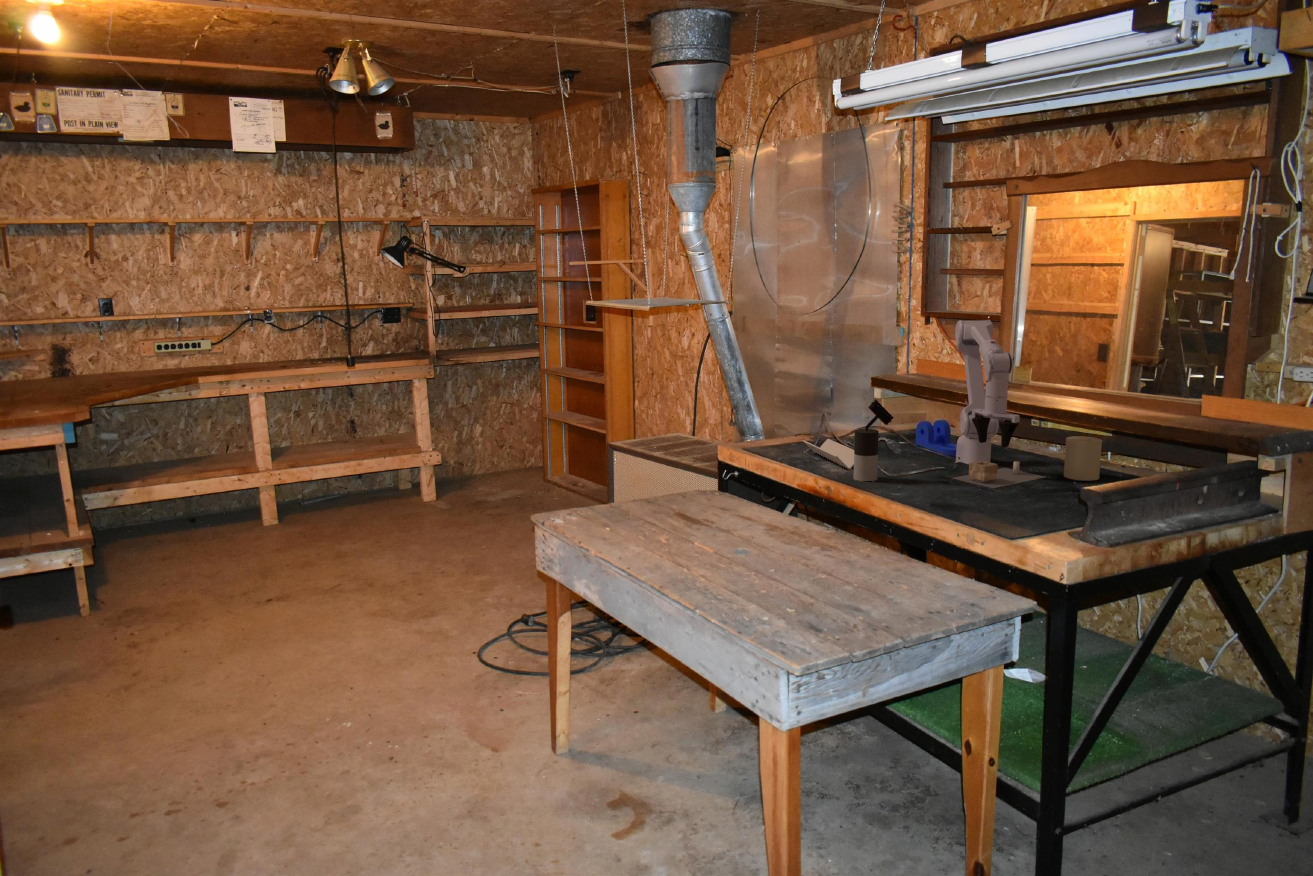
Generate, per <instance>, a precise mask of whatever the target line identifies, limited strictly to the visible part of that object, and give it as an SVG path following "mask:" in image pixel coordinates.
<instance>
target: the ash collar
mask: <svg viewBox="0 0 1313 876" xmlns="http://www.w3.org/2000/svg"><path fill="white" fill-rule="evenodd" d="M997 469H999V465H998V463H994V462H991V461H990V462H986V461H978V462H973V463H969V464H968V475H969V478H973V479H977V480H981V481H987V480H992V479H997Z"/></svg>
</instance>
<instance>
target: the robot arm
mask: <svg viewBox="0 0 1313 876" xmlns="http://www.w3.org/2000/svg"><path fill="white" fill-rule="evenodd" d="M993 335H994V325H993V322H992V321H991V320H990V319H987V320H986V319H984V320H963V319H962V320H961V319H960V320H958V321H957V322H956V324H955V330H954V336H955V344H956V350H957V351H958V352H960V353H962V357H963V362H964V371H965V379H966V387H967V388H966V390H967V395H968V396H967V399H968V405H966V406H964V408H962V410H961V412H960V416H959V417H960V420H959V428H960V432H961V435H960V436H959V437H958V439H957V441H956V442H957V443H956V444H957V449H956V456H955V462H953V463H963V464H966V465H969V463H973V462H978V461H986V462H990V463H991V453H992V438H994V436H995V435H997V433H998V432H999V428H1000V436H1001V438H1000V439H1001V440H1000V443H1001V448H1008V447H1009V445H1010V443H1011V439H1012V436H1013V434H1014V432H1015V431H1016V429H1017V428H1018V426H1019V423H1020V415H1019V414H1016V413H1015V414H1014V413H1011V412H1009V411H1007V407H1008V389H1009V387H1008V386H1009V374H1011V373H1012V370H1013V364H1014V363H1013V357H1012V354H1011V352H1004V350H1003V347H1002V346H1001V345H1000V344H999V342H998V341H997V340H996V339H994V338H993ZM982 360H983V365H982ZM982 366H983V367H982ZM983 371H984V375H983ZM984 379H985V380H986V381H985V382H984Z"/></svg>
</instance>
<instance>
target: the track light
mask: <svg viewBox="0 0 1313 876" xmlns="http://www.w3.org/2000/svg"><path fill="white" fill-rule="evenodd" d="M867 408H868V409H869V410H870V412H872V413H873V414H874V415H875V416H874V417H873V418H872V419H871V420H870V421H869V422H868V423H867V424H866V426H865V428H858V429H855V430H854V439H853V440H854V442H853V444H854V446H853V447H854V448H853V450H854V466H853V480H854V481H857V480H858V482H863V481H872V482H876V481H878V473H879V472H878V470H879V469H878V466H879V464H878V463H879V438H880V437H879V434H880V433H879V430H878V429H873V428H871V426H873V425H874V424H875V422H876V421H877V420H878V419H879V420H880V421H881V422H882V423H883V424H884V425H886V426H888V425H889V424H890V423H892V420H893V419H894V416H893V415H892V414H891V413H890V412H889V411H888V410H887V409H886V408H885V407H884V406H883V405H882V404H881V402H879V401H878V400H877V399H874V400H873V401H871V402H870V405H869V406H868V407H867ZM875 480H876V481H875Z"/></svg>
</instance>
